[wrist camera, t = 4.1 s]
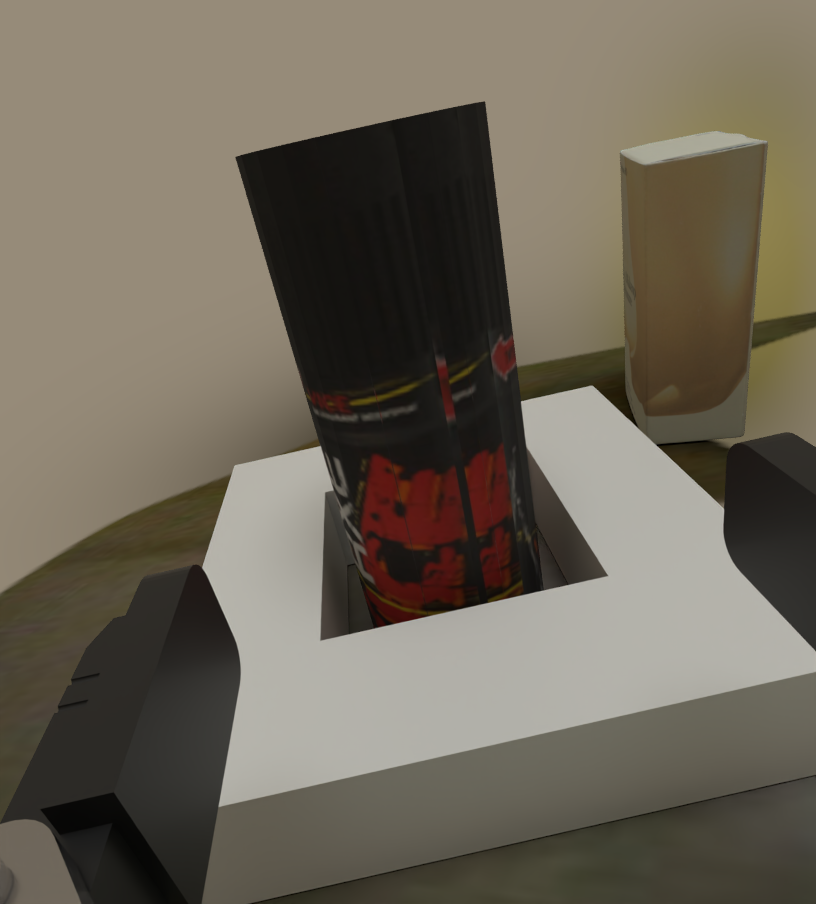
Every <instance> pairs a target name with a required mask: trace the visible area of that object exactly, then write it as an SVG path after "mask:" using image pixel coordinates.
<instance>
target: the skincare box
mask: <svg viewBox="0 0 816 904" xmlns="http://www.w3.org/2000/svg"><path fill="white" fill-rule="evenodd" d="M767 148H768V142H767V141H762V140H757V139H752V138H748V137H746V136H745V135H742V134H727V133H723V132H720V131H717V132H707V133H700V134H695V135H690V136H685V137H681V138H676V139H671V140H666V141H660V142H655V143H650V144H645V145H641V146H638V147H634V148H630V149H626V150H621V151H620V165H621V197H622V234H623V276H624V277H623V279H624V321H625V378H626V394H627V397H628V401H629V404H630V407H631V410H632V413H633V416H634V418H635V421H636V423H637V425H638V427H639V430H640V431H641V432H642V433H644V434H645V435H646V436H647V437H648V438H649V439H650V440H651V441H652V442H653V443H654V444H666V443H678V442H689V441H701V440H711V439H722V438H733V437H741V436H743V435H744V431H745V419H746V405H747V392H748V379H749V367H750V356H751V354H750V353H751V343H752V331H753V318H754V307H755V295H756V282H757V271H758V258H759V246H760V232H761V220H762V208H763V196H764V184H765V172H766V160H767Z"/></svg>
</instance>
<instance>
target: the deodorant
mask: <svg viewBox="0 0 816 904" xmlns="http://www.w3.org/2000/svg"><path fill="white" fill-rule="evenodd" d="M236 161H237V164H238V167H239V171H240V174H241V178H242V181H243V184H244V188H245V191H246V195H247V198H248V201H249V205H250V208H251V211H252V215H253V218H254V222H255V225H256V229H257V232H258V235H259V239H260V242H261V245H262V249H263V252H264V256H265V259H266V262H267V266H268V269H269V273H270V276H271V279H272V282H273V286H274V290H275V293H276V296H277V300H278V303H279V307H280V310H281V313H282V317H283V320H284V323H285V327H286V330H287V334H288V337H289V340H290V344H291V347H292V351H293V354H294V357H295V361H296V364H297V368H298V371H299V374H300V378H301V381H302V384H303V388H304V391H305V395H306V398H307V402H308V405H309V408H310V411H311V415H312V419H313V422H314V425H315V429H316V432H317V436H318V439H319V442H320V446H321V449H322V452H323V456H324V459H325V463H326V466H327V469H328V473H329V476H330V480H331V483H332V486H333V490H334V493H335V497H336V500H337V503H338V507H339V510H340V514H341V517H342V520H343V524H344V527H345V531H346V534H347V537H348V541H349V544H350V548H351V551H352V554H353V558H354V561H355V564H356V568H357V571H358V575H359V578H360V581H361V585H362V588H363V592H364V595H365V598H366V602H367V605H368V609H369V612H370V615H371V619H372V622H373V626H374V629H375V628H380V627H384V626H389V625H393V624H398V623H402V622H406V621H411V620H415V619H420V618H424V617H429V616H433V615H437V614H442V613H446V612H451V611H455V610H460V609H464V608H469V607H473V606H477V605H482V604H486V603H491V602H495V601H500V600H504V599H509V598H513V597H517V596H522V595H526V594H531V593H535V592H540V591H544V590H543V582H542V573H541V565H540V557H539V548H538V540H537V532H536V523H535V515H534V507H533V498H532V490H531V482H530V473H529V465H528V456H527V448H526V440H525V431H524V423H523V415H522V406H521V398H520V390H519V381H518V373H517V365H516V356H515V348H514V340H513V332H512V323H511V314H510V306H509V298H508V290H507V283H506V282H507V281H506V273H505V264H504V256H503V248H502V240H501V231H500V223H499V215H498V207H497V198H496V189H495V181H494V172H493V164H492V156H491V148H490V140H489V131H488V122H487V114H486V106H485V102H479V103H473V104H468V105H463V106H458V107H453V108H448V109H443V110H439V111H434V112H429V113H424V114H419V115H415V116H410V117H406V118H401V119H396V120H392V121H387V122H383V123H378V124H374V125H369V126H364V127H360V128H356V129H351V130H346V131H342V132H337V133H333V134H329V135H324V136H320V137H315V138H311V139H307V140H302V141H298V142H294V143H290V144H285V145H281V146H276V147H272V148H268V149H264V150H260V151H256V152H252V153H248V154H244V155H240V156H237V157H236Z"/></svg>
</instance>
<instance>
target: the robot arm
mask: <svg viewBox="0 0 816 904" xmlns="http://www.w3.org/2000/svg"><path fill="white" fill-rule="evenodd" d="M723 534H724V540H725V544H726V548H727V550H728V553H729V555H730V557H731V559H732V561H733V563H734V564H735V566H736V567H737V569H738V570H739V571H740V572H741V573H742V574H743V575H744V576H745V577H746V578H747V580H748V581H749V582H750V583H751V584H752V585H753V586H754V587H755V588H756V589H757V590H758V591H759V592H760V593H761V594H762V595H763V596H764V597H765V598H766V600H767V601H768V602H769V603H770V604H771V605H772V606H773V607H774V608H775V609H776V610H777V611H778V612H779V613H780V614H781V615H782V616H783V617H784V618H785V620H786V621H787V622H788V623H789V624H790V625H791V626H792V627H793V628H794V629H795V630H796V631H797V632H798V633H799V634H800V635H801V636H802V637H803V638H804V640H805V641H806V642H807V643H808V644H809V645H810V646H811V647H812V648H813V649H814V650H815V651H816V447H814V446H813V445H811V444H810V443H808V442H806V441H804V440H803V439H802V438H800V437H798V436H797V435H795V434H793V433H781V434H776V435H772V436H767V437H763V438H759V439H755V440H750V441H746V442H741V443H737V444H734V445H733V446H732V447H731V448H730V450H729V452H728V456H727V465H726V484H725V504H724V523H723ZM240 680H241V665H240V657H239V651H238V647H237V644H236V641H235V638H234V636H233V633H232V631H231V629H230V627H229V624H228V622H227V620H226V618H225V615H224V613H223V611H222V608H221V606H220V604H219V602H218V599H217V597H216V595H215V593H214V590H213V588H212V586H211V584H210V581H209V579H208V577H207V575H206V573H205V571H204V570H203V569H202V568H201V567H200V566H199V565H192V566H187V567H183V568H178V569H174V570H169V571H165V572H161V573H156V574H152V575H147V576H145V577H144V578H143V579H142V580H141V582H140V584H139V586H138V589H137V591H136V593H135V595H134V598H133V600H132V602H131V604H130V607H129V609H128V611H127V613H126V616H122V617H117V618H114V619H113V620H112V621H111V622H110V623H109V624H108V625H107V626H106V627H105V628H104V629H103V631H102V632H101V633H100V634H99V635H98V636H97V637H96V638H95V639H94V640H93V641H92V643H91V644H90V645H89V646H88V647H87V648H86V650H85V652H84V654H83V656H82V658H81V660H80V662H79V664H78V666H77V668H76V670H75V672H74V674H73V676H72V678H71V681H72V685H70V686H68V687H67V689H66V691H65V693H64V695H63V697H62V699H61V701H60V703H59V705H58V709H59V711H58V713H54V715H53V717H52V719H51V721H50V723H49V725H48V727H47V729H46V731H45V733H44V735H43V737H42V739H41V741H40V743H39V745H38V748H37V750H36V752H35V754H34V756H33V758H32V760H31V762H30V764H29V766H28V768H27V770H26V772H25V774H24V776H23V778H22V780H21V782H20V784H19V786H18V788H17V790H16V792H15V794H14V796H13V798H12V800H11V802H10V804H9V806H8V808H7V811H6V813H5V815H4V817H3V819H2V821H1V823H0V904H202V898H203V893H204V887H205V881H206V876H207V870H208V864H209V858H210V853H211V847H212V841H213V835H214V830H215V824H216V818H217V813H218V807H219V801H220V795H221V790H222V784H223V778H224V773H225V767H226V761H227V755H228V750H229V744H230V738H231V732H232V727H233V721H234V715H235V710H236V704H237V698H238V692H239V687H240Z"/></svg>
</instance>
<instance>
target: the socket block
mask: <svg viewBox="0 0 816 904" xmlns="http://www.w3.org/2000/svg"><path fill="white" fill-rule="evenodd" d="M521 406H522V415H523V423H524V431H525V440H526V448H527V456H528V465H529V473H530V482H531V490H532V498H533V507H534V515H535V523H536V524H537V526H538V528H539V530H540V531H541V533H542V535H543V537H544V539H545V541H546V543H547V545H548V547H549V549H550V550H551V552H552V554H553V556H554V558H555V560H556V562H557V564H558V566H559V567H560V569H561V571H562V573H563V575H564V577H565V579H566V581H567V583H568V584H569V585H566V586H562V587H557V588H553V589H548V590H544V591H540V592H535V593H531V594H526V595H522V596H517V597H513V598H509V599H504V600H500V601H495V602H491V603H486V604H482V605H477V606H473V607H469V608H464V609H460V610H455V611H451V612H446V613H442V614H437V615H433V616H429V617H424V618H420V619H415V620H411V621H406V622H402V623H398V624H393V625H389V626H384V627H380V628H375V629H371V630H366V631H362V632H358V633H353V634H349V619H348V581H347V565H350V564H354V563H355V561H354V558H353V554H352V551H351V548H350V544H349V541H348V537H347V534H346V531H345V527H344V524H343V520H342V517H341V514H340V510H339V507H338V503H337V500H336V497H335V493H334V490H333V486H332V483H331V480H330V476H329V473H328V469H327V466H326V463H325V459H324V456H323V452H322V449H321V446H320V447H315V448H311V449H306V450H302V451H298V452H293V453H289V454H284V455H280V456H275V457H271V458H266V459H262V460H257V461H253V462H249V463H244V464H240V465H235V466H234V469H233V473H232V476H231V479H230V482H229V485H228V488H227V491H226V495H225V498H224V501H223V504H222V507H221V510H220V514H219V517H218V520H217V523H216V526H215V529H214V532H213V536H212V539H211V542H210V545H209V548H208V551H207V555H206V558H205V561H204V564H203V567H202V569H203V570H204V571H205V573H206V575H207V577H208V579H209V581H210V584H211V586H212V588H213V590H214V593H215V595H216V597H217V599H218V602H219V604H220V606H221V608H222V611H223V613H224V615H225V618H226V620H227V622H228V624H229V627H230V629H231V631H232V633H233V636H234V638H235V641H236V644H237V647H238V651H239V657H240V665H241V680H240V687H239V692H238V698H237V704H236V710H235V715H234V721H233V727H232V732H231V738H230V744H229V750H228V755H227V761H226V767H225V773H224V778H223V784H222V790H221V795H220V801H219V807H218V813H217V818H216V824H215V830H214V835H213V841H212V847H211V853H210V858H209V864H208V870H207V876H206V881H205V887H204V893H203V898H202V904H249V903H254V902H258V901H263V900H267V899H271V898H276V897H280V896H285V895H289V894H293V893H298V892H302V891H307V890H311V889H315V888H320V887H324V886H329V885H333V884H337V883H342V882H346V881H351V880H355V879H359V878H364V877H368V876H373V875H377V874H381V873H386V872H390V871H395V870H399V869H403V868H408V867H412V866H417V865H421V864H425V863H430V862H434V861H439V860H443V859H447V858H452V857H456V856H461V855H465V854H469V853H474V852H478V851H483V850H487V849H491V848H496V847H500V846H505V845H509V844H513V843H518V842H522V841H527V840H531V839H535V838H540V837H544V836H549V835H553V834H557V833H562V832H566V831H571V830H575V829H579V828H584V827H588V826H593V825H597V824H601V823H606V822H610V821H615V820H619V819H623V818H628V817H632V816H637V815H641V814H645V813H650V812H654V811H659V810H663V809H667V808H672V807H676V806H681V805H685V804H689V803H694V802H698V801H703V800H707V799H711V798H716V797H720V796H725V795H729V794H733V793H738V792H742V791H747V790H751V789H755V788H760V787H764V786H769V785H773V784H777V783H782V782H786V781H791V780H795V779H799V778H804V777H808V776H813V775H816V651H815V650H814V649H813V648H812V647H811V646H810V645H809V644H808V643H807V642H806V641H805V640H804V638H803V637H802V636H801V635H800V634H799V633H798V632H797V631H796V630H795V629H794V628H793V627H792V626H791V625H790V624H789V623H788V622H787V621H786V620H785V618H784V617H783V616H782V615H781V614H780V613H779V612H778V611H777V610H776V609H775V608H774V607H773V606H772V605H771V604H770V603H769V602H768V601H767V600H766V598H765V597H764V596H763V595H762V594H761V593H760V592H759V591H758V590H757V589H756V588H755V587H754V586H753V585H752V584H751V583H750V582H749V581H748V580H747V578H746V577H745V576H744V575H743V574H742V573H741V572H740V571H739V570H738V569H737V567H736V566H735V564H734V563H733V561H732V559H731V557H730V555H729V553H728V550H727V548H726V544H725V540H724V534H723V523H724V508H722V507H721V506H720V505H719V504H718V503H717V502H716V501H715V500H714V499H713V498H712V497H711V496H710V495H709V494H708V493H706V492H705V491H704V490H703V489H702V488H701V487H700V486H699V485H698V484H697V483H696V482H695V481H694V480H693V479H692V478H690V477H689V476H688V475H687V474H686V473H685V472H684V471H683V470H682V469H681V468H680V467H679V466H678V465H677V464H676V463H674V462H673V461H672V460H671V459H670V458H669V457H668V456H667V455H666V454H665V453H664V452H663V451H662V450H661V449H660V448H658V447H657V446H656V445H655V444H654V443H653V442H652V441H651V440H650V439H649V438H648V437H647V436H646V435H645V434H644V433H642V432H641V431H640V430H639V429H638V428H637V427H636V426H635V425H634V424H633V423H632V422H631V421H630V420H629V419H628V418H626V417H625V416H624V415H623V414H622V413H621V412H620V411H619V410H618V409H617V408H616V407H615V406H614V405H613V404H612V403H610V402H609V401H608V400H607V399H606V398H605V397H604V396H603V395H602V394H601V393H600V392H599V391H598V390H597V389H595V388H594V387H593V386H588V387H584V388H579V389H575V390H570V391H566V392H561V393H557V394H553V395H548V396H544V397H539V398H535V399H530V400H526V401H521Z"/></svg>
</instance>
